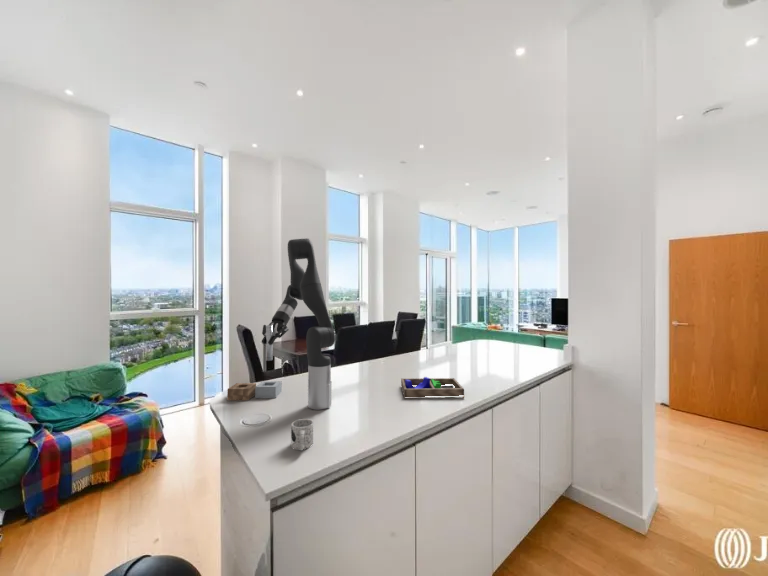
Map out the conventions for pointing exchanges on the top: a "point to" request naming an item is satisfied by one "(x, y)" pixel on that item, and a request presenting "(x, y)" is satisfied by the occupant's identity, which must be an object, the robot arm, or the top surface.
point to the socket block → (268, 389)
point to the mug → (301, 434)
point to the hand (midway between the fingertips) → (266, 343)
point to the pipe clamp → (436, 384)
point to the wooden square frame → (241, 391)
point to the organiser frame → (432, 388)
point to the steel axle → (268, 347)
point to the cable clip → (423, 385)
